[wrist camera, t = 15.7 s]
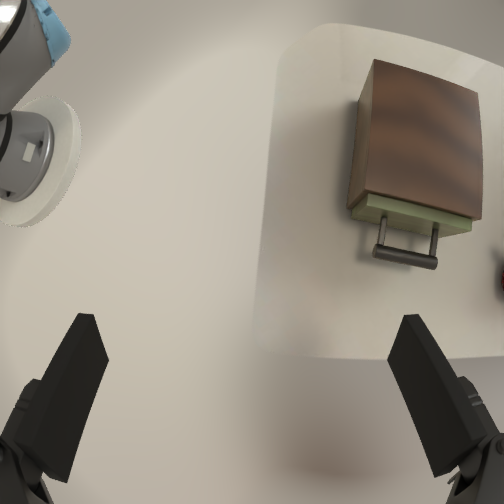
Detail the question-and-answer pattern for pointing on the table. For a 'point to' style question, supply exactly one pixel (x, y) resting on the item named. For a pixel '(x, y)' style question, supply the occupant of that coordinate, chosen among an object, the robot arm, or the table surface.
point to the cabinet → (418, 141)
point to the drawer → (408, 226)
